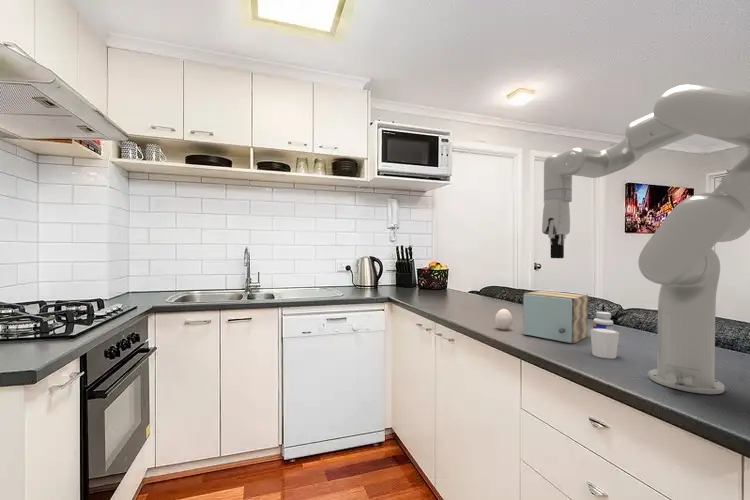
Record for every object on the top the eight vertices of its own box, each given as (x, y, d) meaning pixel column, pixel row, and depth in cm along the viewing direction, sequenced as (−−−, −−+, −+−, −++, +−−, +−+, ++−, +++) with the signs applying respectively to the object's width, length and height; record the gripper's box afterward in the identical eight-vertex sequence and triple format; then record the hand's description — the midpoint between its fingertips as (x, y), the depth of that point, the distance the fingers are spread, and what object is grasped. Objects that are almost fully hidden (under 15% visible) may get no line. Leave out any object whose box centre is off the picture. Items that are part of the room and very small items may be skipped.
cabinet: (573, 343, 111) (574, 298, 111) (523, 334, 122) (523, 293, 122) (587, 336, 120) (587, 294, 120) (539, 328, 132) (539, 290, 132)
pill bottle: (588, 341, 114) (589, 311, 114) (601, 340, 115) (601, 310, 115) (604, 346, 108) (604, 314, 108) (617, 344, 110) (617, 313, 110)
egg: (491, 329, 130) (492, 308, 130) (500, 327, 134) (500, 307, 134) (507, 332, 125) (507, 310, 125) (515, 329, 129) (516, 309, 129)
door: (568, 343, 109) (569, 299, 109) (521, 334, 120) (521, 294, 120) (571, 342, 110) (572, 299, 110) (524, 333, 122) (524, 294, 122)
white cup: (624, 357, 97) (625, 332, 97) (607, 360, 94) (608, 334, 94) (600, 350, 103) (601, 327, 103) (584, 353, 101) (584, 328, 101)
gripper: (553, 200, 114) (553, 257, 114) (534, 195, 104) (534, 258, 103) (579, 198, 108) (579, 258, 108) (561, 192, 98) (561, 258, 98)
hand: (557, 258), depth 106 cm, fingers closed
